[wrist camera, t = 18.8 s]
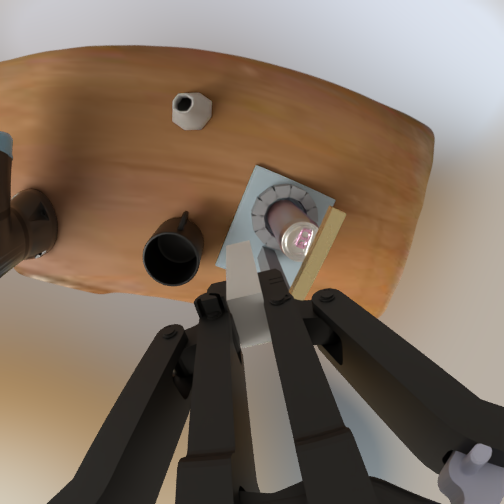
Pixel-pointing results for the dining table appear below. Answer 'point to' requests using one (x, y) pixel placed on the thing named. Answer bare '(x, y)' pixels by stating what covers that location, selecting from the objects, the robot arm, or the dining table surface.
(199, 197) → the dining table surface
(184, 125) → the flask
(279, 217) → the beverage can
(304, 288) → the lever
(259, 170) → the seat board
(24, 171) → the dining table surface
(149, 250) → the mug
